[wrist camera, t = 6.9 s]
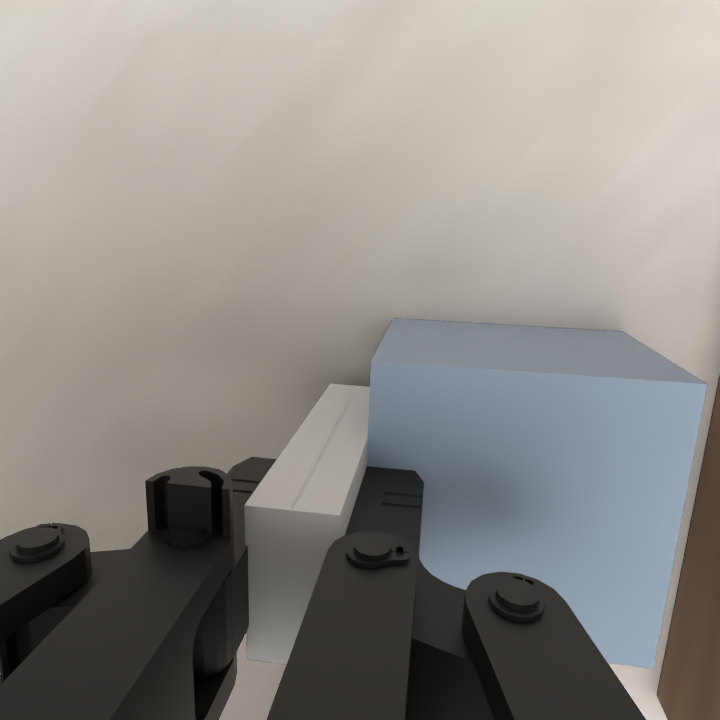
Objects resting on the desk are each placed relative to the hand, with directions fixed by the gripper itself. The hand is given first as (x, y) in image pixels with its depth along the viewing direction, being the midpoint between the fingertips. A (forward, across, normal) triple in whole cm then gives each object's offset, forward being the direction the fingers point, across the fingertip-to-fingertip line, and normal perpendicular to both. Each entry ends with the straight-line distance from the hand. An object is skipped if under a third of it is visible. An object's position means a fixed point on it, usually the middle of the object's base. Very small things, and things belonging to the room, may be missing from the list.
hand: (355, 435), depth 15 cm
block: (+2, +4, 0) cm, 4 cm away
